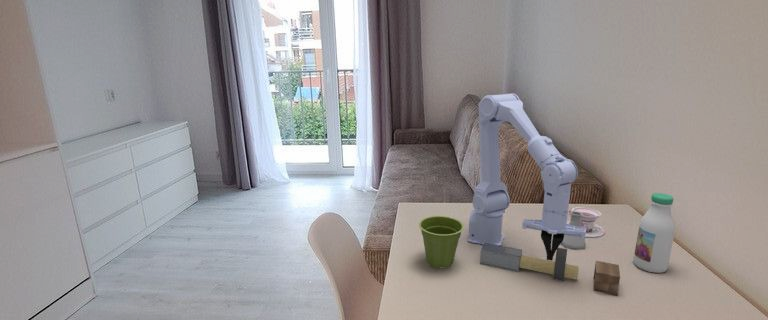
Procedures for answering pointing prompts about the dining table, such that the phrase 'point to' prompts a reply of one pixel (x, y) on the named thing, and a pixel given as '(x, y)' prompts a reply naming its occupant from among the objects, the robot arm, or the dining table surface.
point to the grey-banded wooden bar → (551, 265)
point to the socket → (606, 278)
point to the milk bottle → (655, 235)
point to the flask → (572, 240)
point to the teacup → (589, 221)
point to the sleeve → (500, 257)
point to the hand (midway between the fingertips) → (549, 258)
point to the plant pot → (440, 239)
